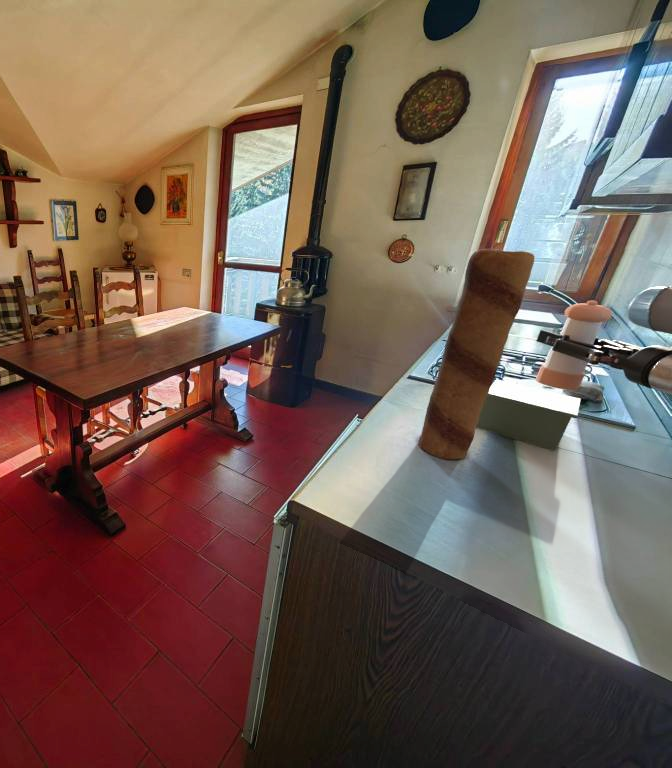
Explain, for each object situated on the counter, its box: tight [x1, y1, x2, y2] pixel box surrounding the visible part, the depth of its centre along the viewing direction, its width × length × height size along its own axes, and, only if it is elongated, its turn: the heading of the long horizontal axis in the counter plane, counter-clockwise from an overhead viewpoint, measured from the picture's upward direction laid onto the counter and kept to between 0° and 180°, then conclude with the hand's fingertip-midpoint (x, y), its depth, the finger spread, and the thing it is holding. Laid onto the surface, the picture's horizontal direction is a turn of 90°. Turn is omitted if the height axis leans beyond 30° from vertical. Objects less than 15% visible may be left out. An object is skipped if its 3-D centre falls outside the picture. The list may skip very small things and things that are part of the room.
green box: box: [476, 396, 572, 452], centre depth 101 cm, size 16×14×9 cm
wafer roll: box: [417, 248, 536, 460], centre depth 84 cm, size 10×11×45 cm
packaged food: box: [562, 380, 605, 403], centre depth 122 cm, size 9×12×5 cm
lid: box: [487, 379, 582, 419], centre depth 98 cm, size 17×14×1 cm
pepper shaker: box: [535, 299, 613, 390], centre depth 86 cm, size 7×7×19 cm
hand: (553, 336), depth 91 cm, fingers closed on pepper shaker, 5 cm apart
